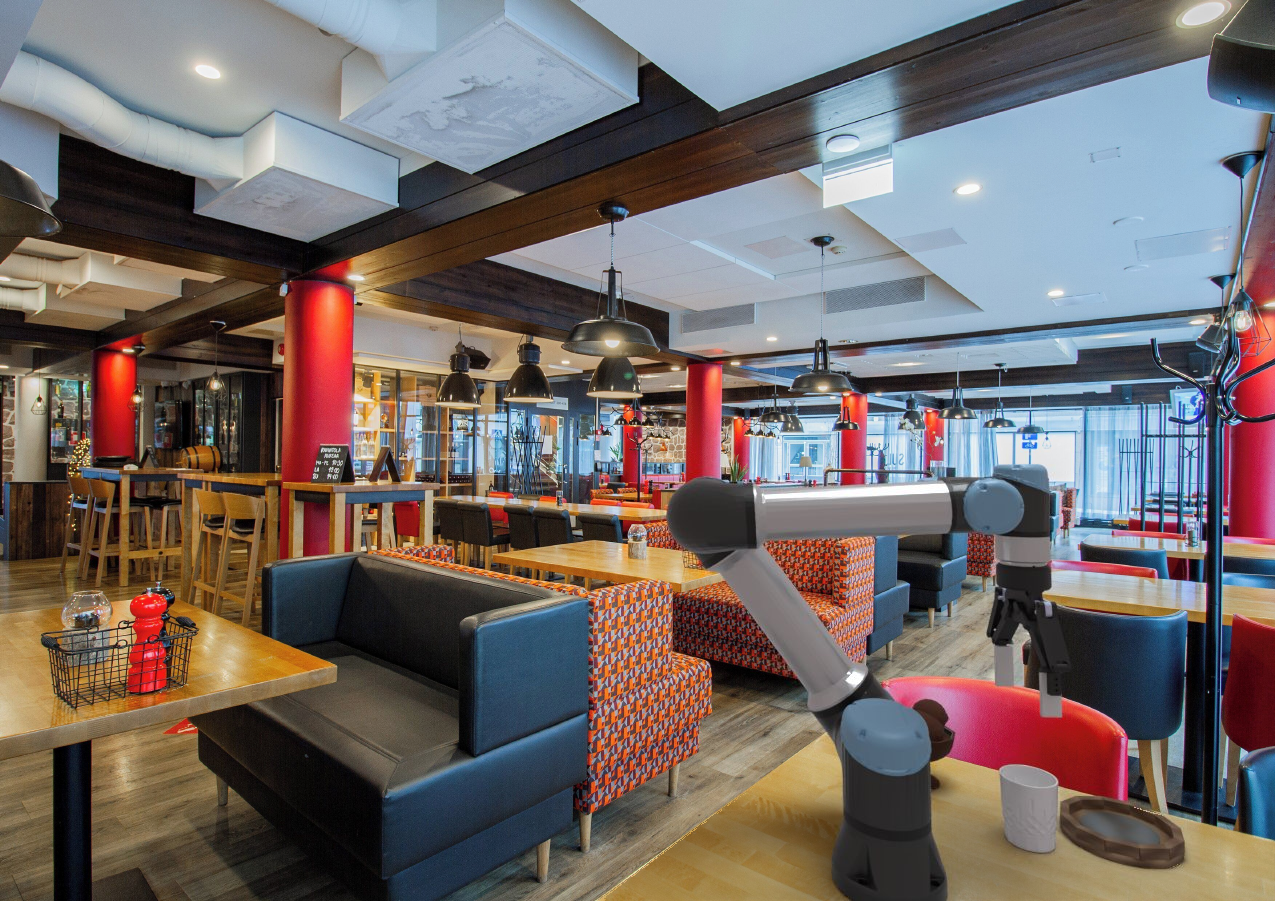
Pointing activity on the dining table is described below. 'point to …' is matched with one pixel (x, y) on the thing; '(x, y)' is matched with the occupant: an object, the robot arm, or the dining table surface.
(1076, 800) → the tray
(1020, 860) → the dining table surface
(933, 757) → the ice cream bowl
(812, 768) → the dining table surface
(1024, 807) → the white cup
